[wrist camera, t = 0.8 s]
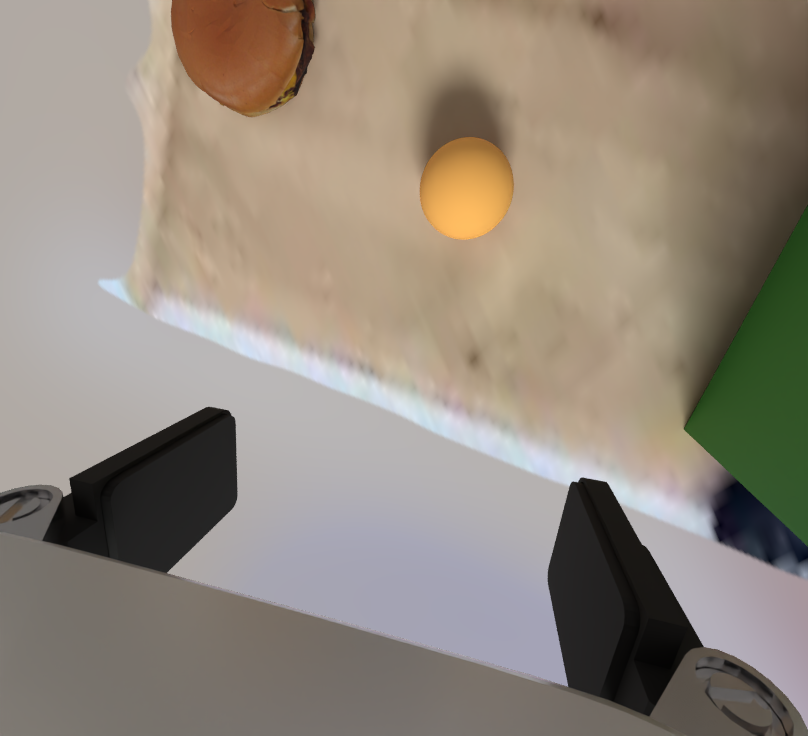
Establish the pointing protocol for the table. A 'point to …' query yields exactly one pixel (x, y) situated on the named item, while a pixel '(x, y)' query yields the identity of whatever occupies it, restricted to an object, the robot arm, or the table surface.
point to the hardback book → (766, 393)
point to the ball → (466, 188)
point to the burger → (245, 49)
